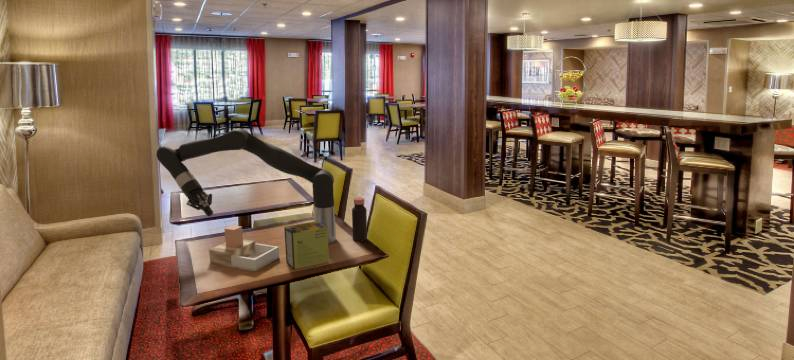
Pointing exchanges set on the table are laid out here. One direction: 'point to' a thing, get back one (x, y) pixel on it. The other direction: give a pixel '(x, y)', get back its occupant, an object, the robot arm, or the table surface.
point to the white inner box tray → (256, 258)
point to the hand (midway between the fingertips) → (211, 214)
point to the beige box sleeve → (230, 252)
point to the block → (233, 236)
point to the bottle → (359, 220)
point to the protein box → (306, 244)
